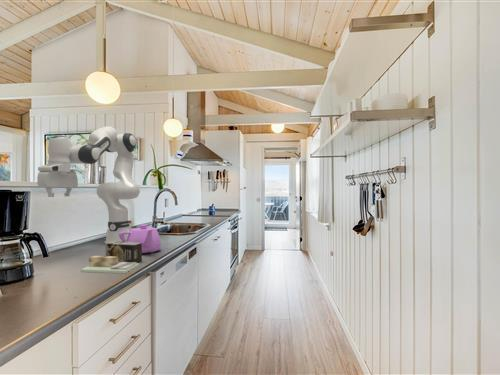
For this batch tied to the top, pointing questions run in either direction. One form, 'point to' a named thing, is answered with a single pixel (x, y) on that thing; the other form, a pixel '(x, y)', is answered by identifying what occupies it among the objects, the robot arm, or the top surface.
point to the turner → (109, 262)
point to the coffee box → (125, 251)
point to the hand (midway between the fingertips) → (59, 196)
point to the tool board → (107, 269)
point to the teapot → (143, 238)
